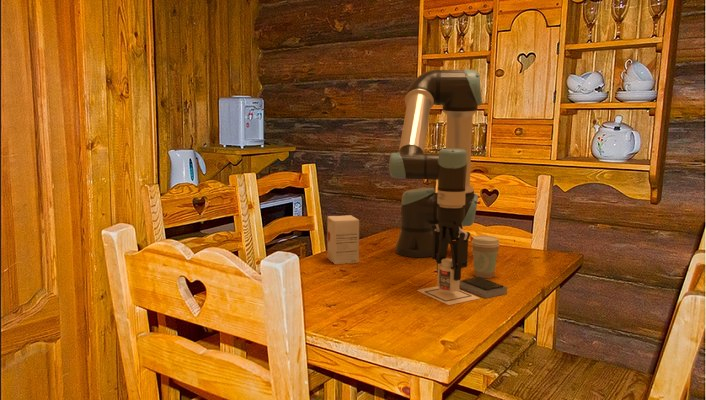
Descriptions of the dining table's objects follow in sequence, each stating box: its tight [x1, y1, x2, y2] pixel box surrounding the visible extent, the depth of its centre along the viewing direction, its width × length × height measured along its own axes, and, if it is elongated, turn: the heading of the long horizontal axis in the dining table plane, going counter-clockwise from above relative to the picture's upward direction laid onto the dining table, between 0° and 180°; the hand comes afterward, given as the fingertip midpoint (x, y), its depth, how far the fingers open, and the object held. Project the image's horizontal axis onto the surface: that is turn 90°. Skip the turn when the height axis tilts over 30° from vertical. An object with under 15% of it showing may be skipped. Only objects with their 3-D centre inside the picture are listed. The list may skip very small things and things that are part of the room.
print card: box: [416, 285, 481, 306], centre depth 156 cm, size 14×11×1 cm
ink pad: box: [459, 277, 508, 299], centre depth 159 cm, size 11×8×2 cm
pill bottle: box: [439, 257, 453, 292], centre depth 154 cm, size 5×5×8 cm
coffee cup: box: [471, 235, 501, 279], centre depth 173 cm, size 8×8×12 cm
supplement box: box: [326, 214, 360, 265], centre depth 190 cm, size 9×9×15 cm
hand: (448, 288), depth 155 cm, fingers closed on pill bottle, 5 cm apart
